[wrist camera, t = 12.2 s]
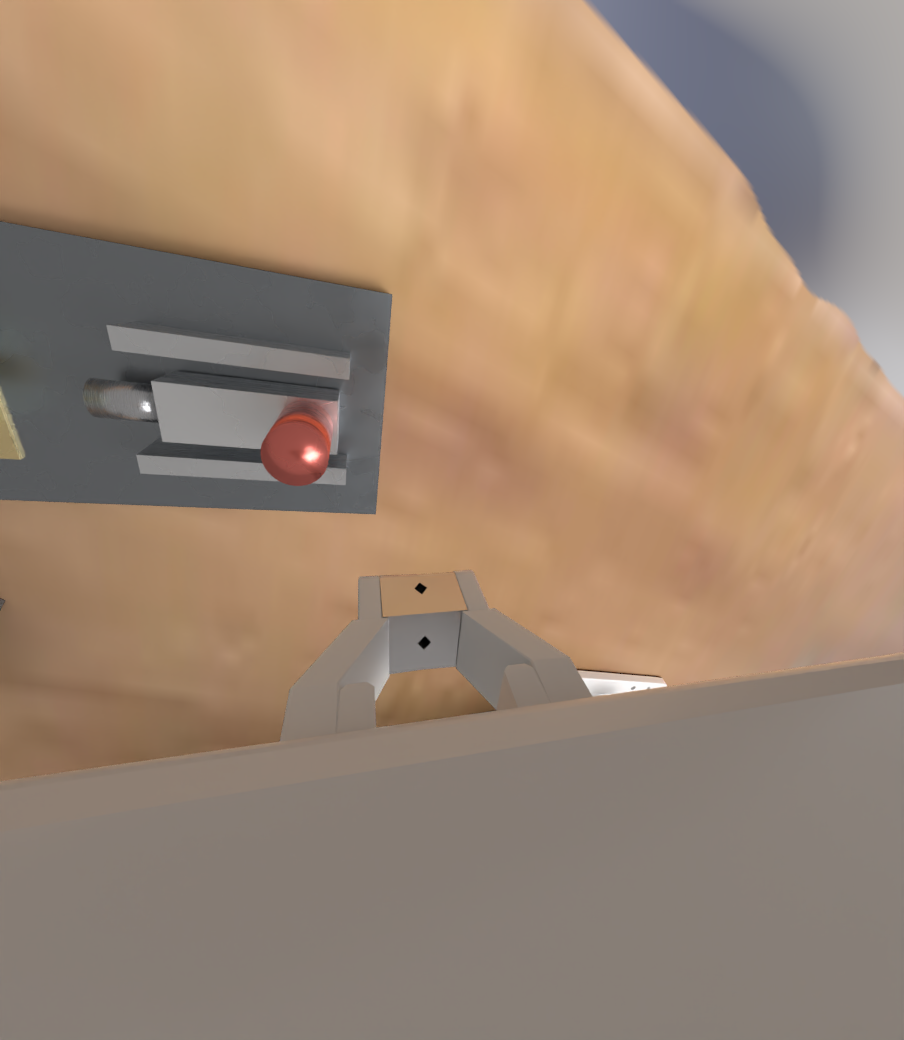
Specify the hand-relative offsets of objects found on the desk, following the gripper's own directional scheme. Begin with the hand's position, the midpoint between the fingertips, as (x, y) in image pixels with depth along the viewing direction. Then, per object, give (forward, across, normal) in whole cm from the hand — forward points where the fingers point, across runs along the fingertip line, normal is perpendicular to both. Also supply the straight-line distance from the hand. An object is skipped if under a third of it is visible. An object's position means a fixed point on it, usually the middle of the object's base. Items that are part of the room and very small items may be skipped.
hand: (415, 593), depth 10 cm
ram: (+15, -8, +1) cm, 17 cm away
